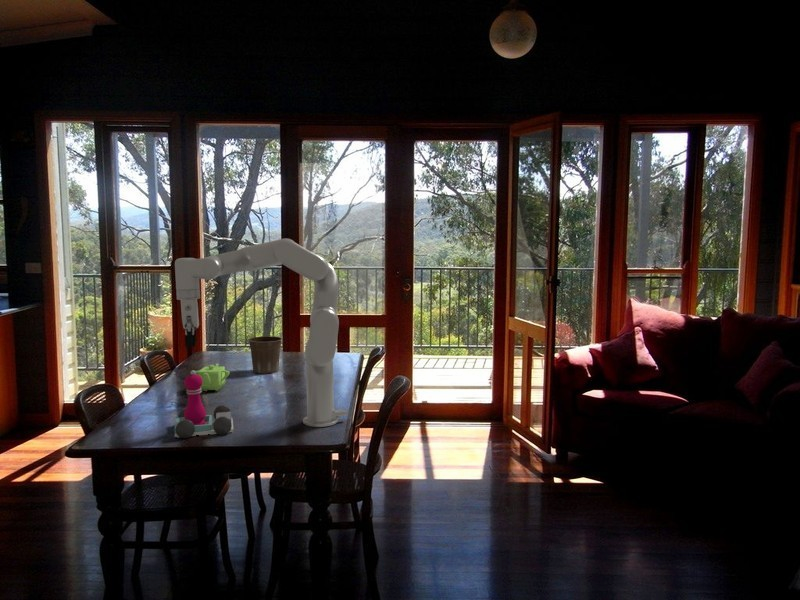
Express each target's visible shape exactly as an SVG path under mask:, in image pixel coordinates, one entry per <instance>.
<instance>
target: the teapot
mask: <svg viewBox="0 0 800 600" xmlns="http://www.w3.org/2000/svg"><path fill="white" fill-rule="evenodd" d="M194 371H195V372H196V375H199V376H200V377H201V378H202V380H203V383H202V385H201V387H200V388H201V391H202V392H203V391H206V390H207V391H214V390H215V391H214V392H218V391H217V390H219V391H220V390H221V389H223V387H224V386H225V385H226V379H228V377H229V375H230V373H231V372H230V371H229V370H226V367H225V365H224V366H219V363H216V364H215V365H214V364H209V365H208V366H204V367H202V368H201V369H199V370H194ZM207 391H206V392H207Z"/></svg>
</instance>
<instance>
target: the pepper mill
mask: <svg viewBox="0 0 800 600" xmlns="http://www.w3.org/2000/svg"><path fill="white" fill-rule="evenodd" d="M195 371H196V370H193V369H192V370H191V371H190V374H188V375H187V376H186V377H185V379H184V380H183V382H184V386H185V388H186V390H185V391H186V392H185V393H186V394H187V399H188V400H187V404H186V406H185V408H186V409H185V412H184V418H185V419H187V420H190V421H192V422H193V423H194V425H204V424H205V421H204V420H203V419H204V418H205V416H206V415H207V412H206V409H205V406H204V404H203V402H202V400H201V393H202V392H203V390H201V388H200V387H201V385H202V383H203V380H202V378H201V377H200V376H199V375H196V372H195Z"/></svg>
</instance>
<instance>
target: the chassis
mask: <svg viewBox="0 0 800 600" xmlns="http://www.w3.org/2000/svg"><path fill="white" fill-rule="evenodd" d="M185 409H186V407H183V408H182V409H181V410H180V411H179V413H178V416H177V417H176V419H175V423H174V438H175V437H177V438H180V439H188V438H190V437H197V436H196V435H199V436H207V435H208V434H210V435H220V436H221V435H222V436H224V435H226V434H229V433H230V432H232V433H234V421H233V420H234V419H233V417H232V411H231V408H230V407H229V406H228V405H226V404H219V405H217V406H216V407H215V408H214V409H213V414H206V416H205V418H204V419H203V420H204V421H205V424H204V425H194V423H193V422H192V421H190V420H187V419H185V418H184V412H185ZM213 417H214V419H213Z"/></svg>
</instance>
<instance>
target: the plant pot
mask: <svg viewBox="0 0 800 600" xmlns="http://www.w3.org/2000/svg"><path fill="white" fill-rule="evenodd" d="M247 341H248V343H249V348H250V354H251V365H252V372H253V373H254V374H258V375H263V374H265V375H266V374H269V373H270V374H275V373H277V372H278V371H279V368H280V354H281V353H280V352H281V346H282V341H283V338H282V337H280V336H275V335H274V336H272V335H269V336H268V335H265V336H261V335H260V336H253V337H250V338H248V339H247ZM274 372H275V373H274Z"/></svg>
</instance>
